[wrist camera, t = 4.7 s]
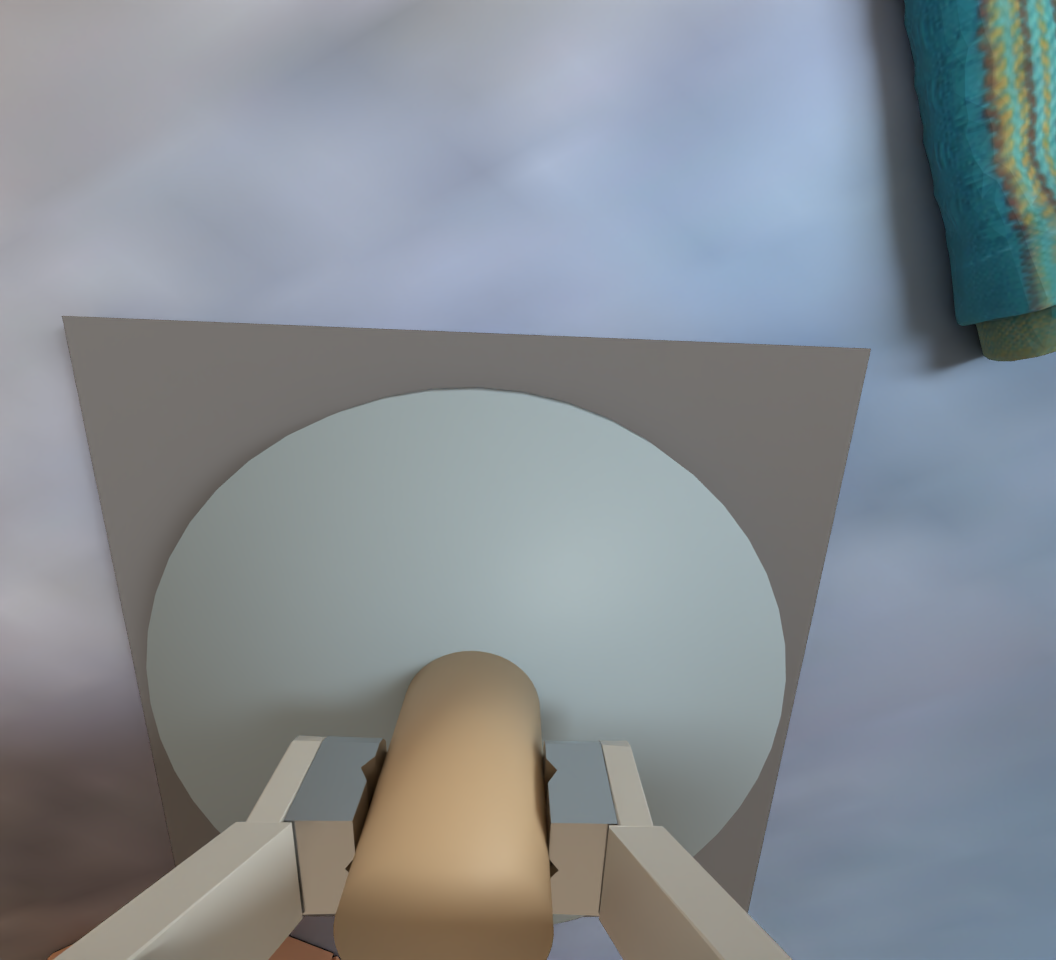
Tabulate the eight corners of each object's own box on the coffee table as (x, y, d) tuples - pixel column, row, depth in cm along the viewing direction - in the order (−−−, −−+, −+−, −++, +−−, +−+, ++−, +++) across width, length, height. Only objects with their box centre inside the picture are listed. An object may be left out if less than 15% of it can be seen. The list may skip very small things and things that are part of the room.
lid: (813, 399, 10) (1118, 457, 5) (717, 891, 13) (836, 1213, 8) (130, 373, 9) (-302, 406, 4) (220, 888, 13) (37, 1224, 8)
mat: (849, 348, 10) (870, 349, 9) (737, 893, 14) (746, 916, 13) (89, 317, 9) (61, 316, 9) (199, 890, 13) (185, 915, 13)
